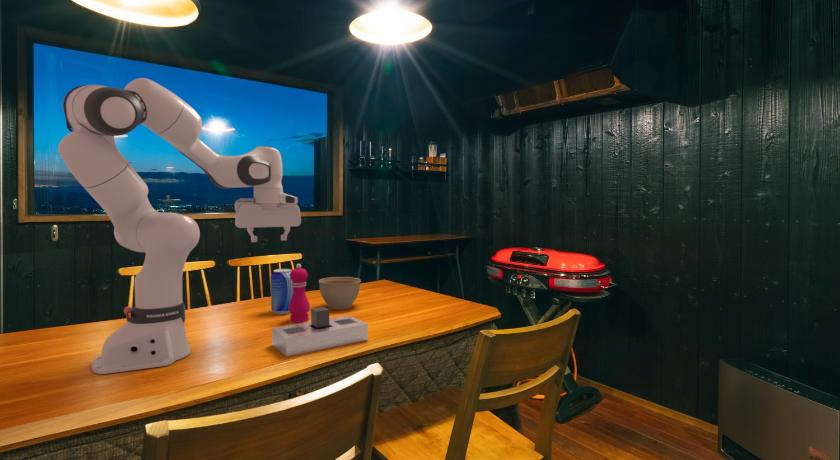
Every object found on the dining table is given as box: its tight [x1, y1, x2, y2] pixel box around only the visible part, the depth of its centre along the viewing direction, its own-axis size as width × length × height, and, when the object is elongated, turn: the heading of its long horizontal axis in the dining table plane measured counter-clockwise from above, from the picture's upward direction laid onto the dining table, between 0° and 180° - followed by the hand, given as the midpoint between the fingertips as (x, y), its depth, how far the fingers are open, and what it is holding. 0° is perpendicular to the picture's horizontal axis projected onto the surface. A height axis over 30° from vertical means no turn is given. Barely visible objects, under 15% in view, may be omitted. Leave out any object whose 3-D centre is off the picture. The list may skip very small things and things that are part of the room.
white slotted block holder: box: [271, 315, 369, 357], centre depth 135 cm, size 25×12×5 cm, turn 126°
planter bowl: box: [318, 276, 362, 310], centre depth 178 cm, size 16×16×11 cm
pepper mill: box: [289, 263, 311, 323], centre depth 159 cm, size 7×7×20 cm
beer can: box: [270, 268, 293, 315], centre depth 170 cm, size 8×8×16 cm
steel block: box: [310, 306, 330, 330], centre depth 135 cm, size 4×4×10 cm
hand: (269, 241), depth 146 cm, fingers open, 8 cm apart
